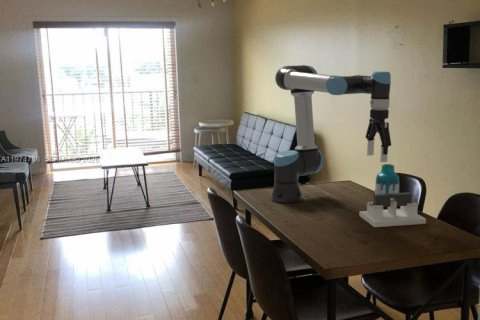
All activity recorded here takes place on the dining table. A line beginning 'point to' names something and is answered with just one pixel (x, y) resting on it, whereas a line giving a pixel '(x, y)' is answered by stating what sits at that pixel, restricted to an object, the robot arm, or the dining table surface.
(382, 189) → the vase
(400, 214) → the white pegged base plate
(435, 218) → the dining table surface
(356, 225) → the dining table surface
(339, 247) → the dining table surface
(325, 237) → the dining table surface
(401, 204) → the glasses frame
